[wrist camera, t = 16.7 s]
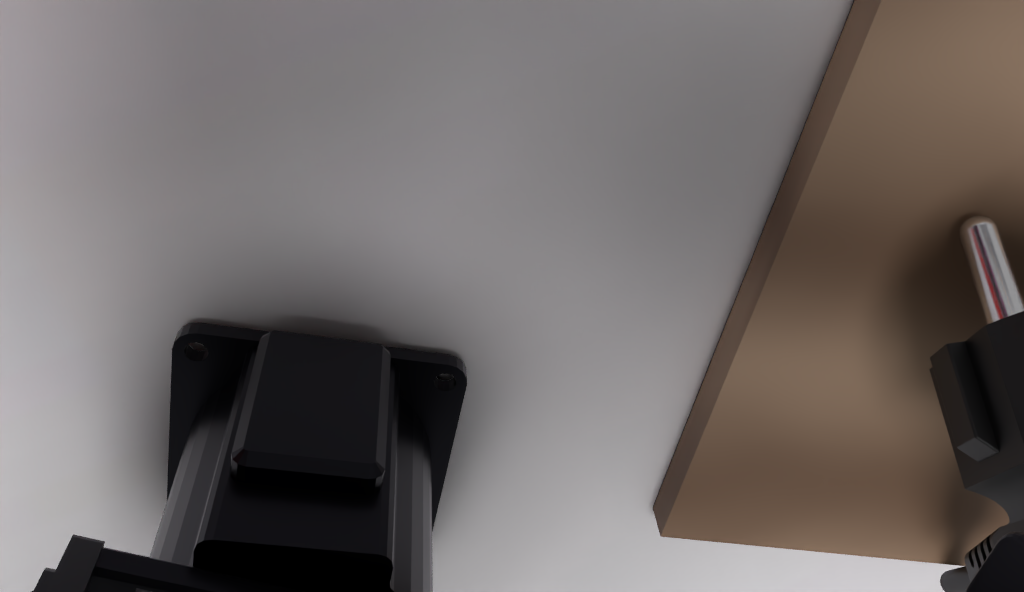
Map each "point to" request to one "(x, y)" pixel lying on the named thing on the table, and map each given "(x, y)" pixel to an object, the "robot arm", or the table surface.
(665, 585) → the table surface
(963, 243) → the power plug
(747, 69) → the table surface
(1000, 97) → the walnut pad
